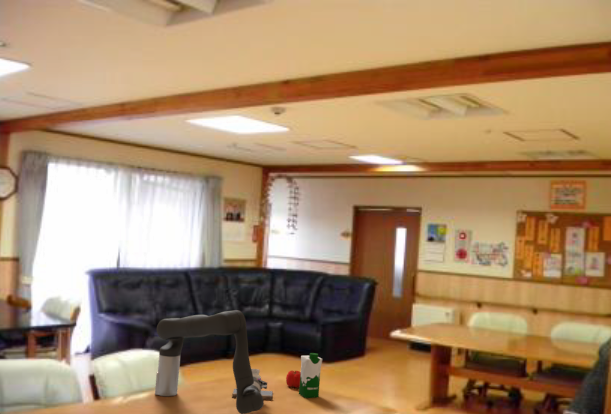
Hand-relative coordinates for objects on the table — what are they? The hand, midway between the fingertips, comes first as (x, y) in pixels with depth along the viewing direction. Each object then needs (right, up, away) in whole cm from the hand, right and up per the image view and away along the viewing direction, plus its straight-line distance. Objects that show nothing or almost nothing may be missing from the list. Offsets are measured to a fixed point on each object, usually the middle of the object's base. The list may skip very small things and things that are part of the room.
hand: (253, 379), depth 265 cm
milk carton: (+24, -13, +17) cm, 32 cm away
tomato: (+18, -13, +31) cm, 38 cm away
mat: (-1, -10, +13) cm, 16 cm away
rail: (-1, -10, +6) cm, 12 cm away
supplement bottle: (-1, -9, 0) cm, 9 cm away
